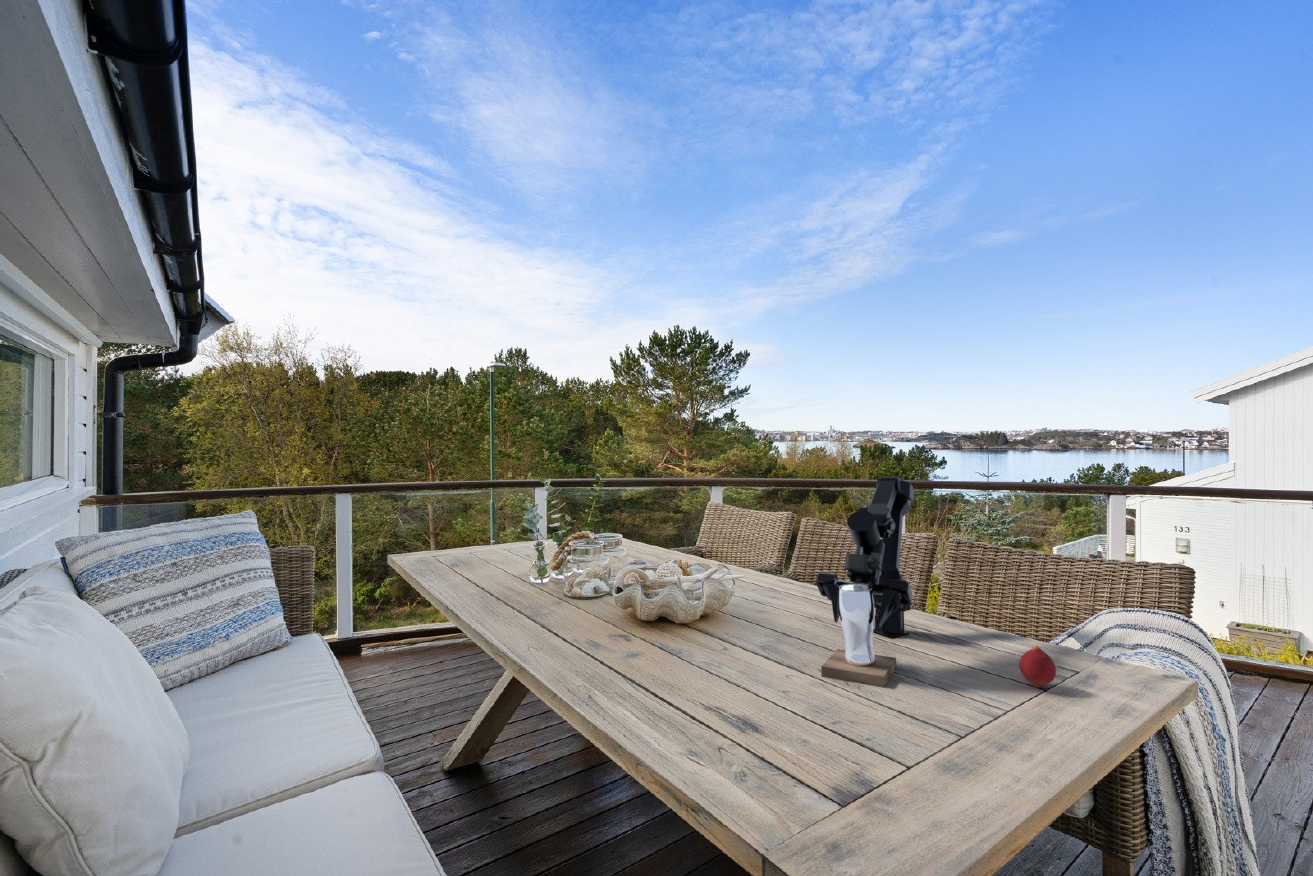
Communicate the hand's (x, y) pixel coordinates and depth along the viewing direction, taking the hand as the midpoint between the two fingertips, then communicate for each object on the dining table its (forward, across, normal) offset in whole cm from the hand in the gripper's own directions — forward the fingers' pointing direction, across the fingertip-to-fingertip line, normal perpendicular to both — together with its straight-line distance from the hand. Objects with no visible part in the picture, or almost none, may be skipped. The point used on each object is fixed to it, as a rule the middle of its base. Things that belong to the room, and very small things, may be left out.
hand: (856, 624), depth 125 cm
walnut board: (+6, 0, +8) cm, 10 cm away
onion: (+1, +31, +14) cm, 34 cm away
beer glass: (+4, 0, +7) cm, 8 cm away
